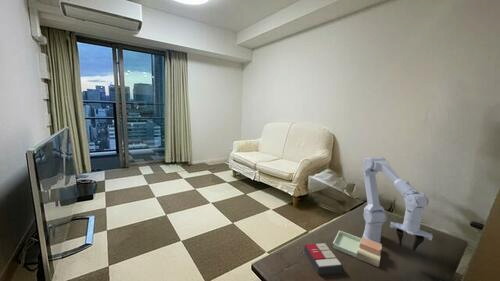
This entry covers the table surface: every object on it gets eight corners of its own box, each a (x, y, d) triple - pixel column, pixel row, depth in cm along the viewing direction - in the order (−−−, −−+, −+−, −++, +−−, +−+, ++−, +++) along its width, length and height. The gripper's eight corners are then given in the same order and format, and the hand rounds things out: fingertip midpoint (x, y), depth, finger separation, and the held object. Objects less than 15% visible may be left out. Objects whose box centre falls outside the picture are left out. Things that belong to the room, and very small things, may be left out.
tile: (361, 241, 103) (362, 237, 102) (380, 248, 98) (381, 243, 98) (359, 248, 98) (360, 243, 98) (379, 255, 93) (380, 250, 93)
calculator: (325, 241, 101) (343, 264, 86) (324, 250, 102) (342, 273, 87) (304, 243, 99) (319, 266, 85) (303, 251, 100) (318, 275, 85)
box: (338, 233, 113) (339, 230, 113) (360, 242, 107) (361, 238, 106) (331, 247, 102) (332, 243, 102) (356, 257, 96) (356, 253, 95)
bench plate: (360, 242, 107) (361, 237, 106) (381, 249, 102) (382, 244, 101) (356, 257, 96) (357, 252, 95) (378, 267, 91) (379, 261, 90)
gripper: (392, 217, 90) (387, 244, 93) (435, 230, 82) (429, 260, 84) (392, 211, 96) (387, 237, 98) (433, 222, 88) (427, 250, 90)
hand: (406, 247), depth 92 cm, fingers open, 4 cm apart
